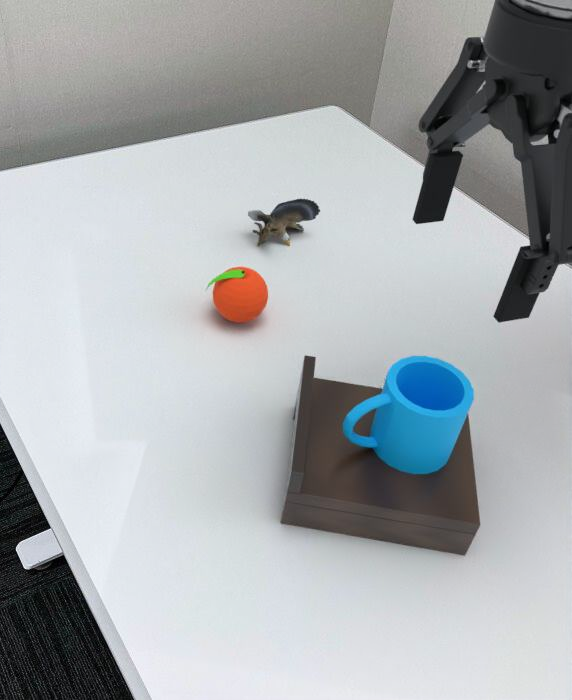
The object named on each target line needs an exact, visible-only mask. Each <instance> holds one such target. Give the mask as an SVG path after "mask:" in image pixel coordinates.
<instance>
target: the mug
mask: <svg viewBox="0 0 572 700" xmlns="http://www.w3.org/2000/svg"><path fill="white" fill-rule="evenodd" d="M384 380H385V381H384V383H383V387H382V389H383V390H382V393H381V394H379V395H377V396H374V397H371V398H369V399H367V400H365V401H363V402H362V403H360V404H358V405H357V406H355V407H354V408H353V409H352V410H351V411H350V412H349V413H348V414H347V416H346V418H345V420H344V422H343V433H344V435H345V436H346V438H347V439H348V440H349V441H350V442H352V443H354V444H356V445H358V446H362V447H368V448H373V449H374V451H375V452H376V454H377V455H378V457H379V458H381V459H382V460H383V461H384V462H385V463H387V464H388V465H389V466H391V467H393V468H395V469H397V470H399V471H402V472H407V473H411V474H428V473H431V472H435V471H438V470H439V469H440V468H442V467H443V466H444V465H445V464H446V463H447V461H448V459H449V457H450V455H451V452H452V450H453V447H454V445H455V443H456V440H457V438H458V436H459V433H460V431H461V428H462V426H463V424H464V421H465V419H466V417H467V414H468V415H469V412H470V409H471V407H472V405H473V402H474V399H475V397H474V395H475V391H474V388H473V385H472V382H471V380H470V379H469V378H468V376H466V375H465V373H464V372H463V371H462V370H460V369H459V368H457V367H456V366H455V365H453V364H452V363H449V362H447V361H445V360H443V359H441V358H437V357H434V356H433V357H432V356H427V355H412V356H411V355H410V356H407V357H403V358H401V359H399V360H397V361H396V362H394V363H393V364H392V365H391V366H390V368H389V369H388V370H387V373H386V377H385V379H384ZM375 408H377V410H376V413H375V416H374V420H373V423H372V426H371V430H370V437H364V436H359V435H357V434H355V433H354V432H353V427H354V425H355V423H356V422H357V421H358V420H359V419H360V418H361V417H362V416H363V415H364V414H366V413H368V412H369V411H371V410H373V409H375Z"/></svg>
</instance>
